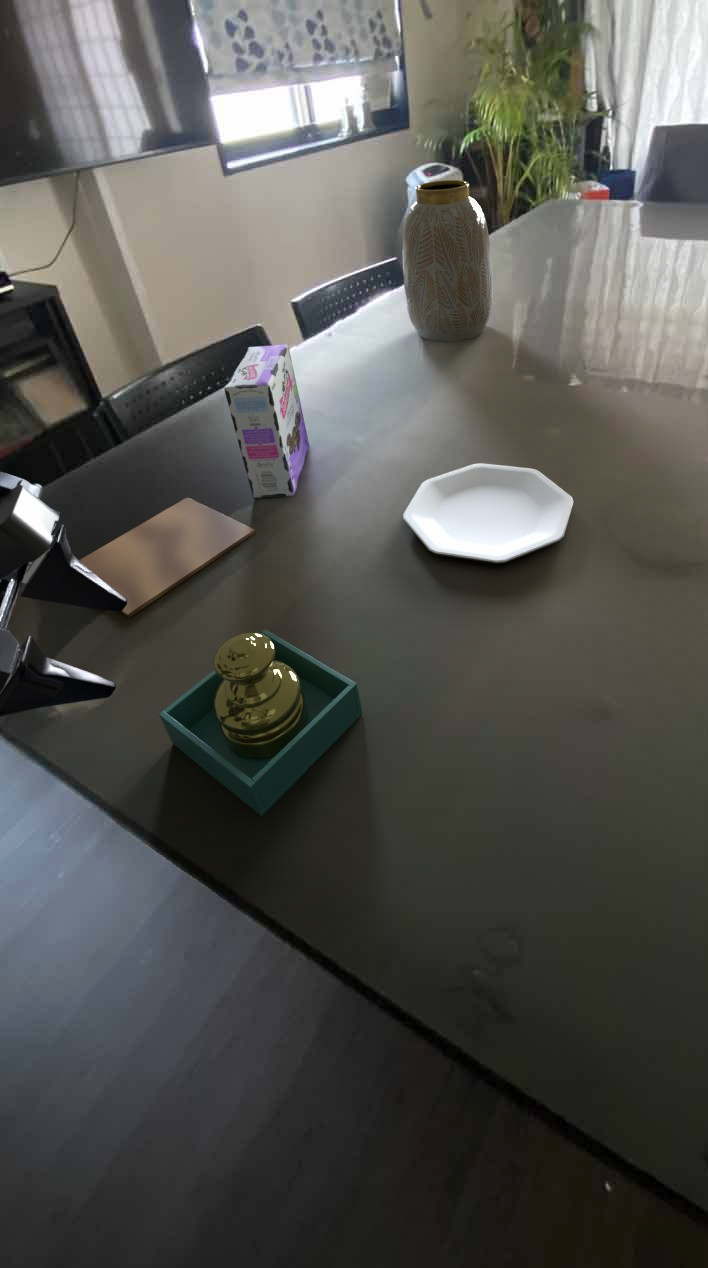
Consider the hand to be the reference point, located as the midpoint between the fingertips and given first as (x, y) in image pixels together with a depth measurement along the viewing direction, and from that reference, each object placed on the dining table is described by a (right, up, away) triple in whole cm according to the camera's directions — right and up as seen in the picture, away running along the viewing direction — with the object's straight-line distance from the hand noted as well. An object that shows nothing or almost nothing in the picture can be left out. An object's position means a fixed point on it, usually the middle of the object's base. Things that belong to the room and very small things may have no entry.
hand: (119, 645), depth 52 cm
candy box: (+3, +15, +46) cm, 48 cm away
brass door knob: (+9, -9, +9) cm, 16 cm away
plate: (+31, +9, +33) cm, 46 cm away
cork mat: (-9, +5, +32) cm, 33 cm away
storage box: (+9, -9, +9) cm, 16 cm away
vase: (+28, +46, +86) cm, 102 cm away
